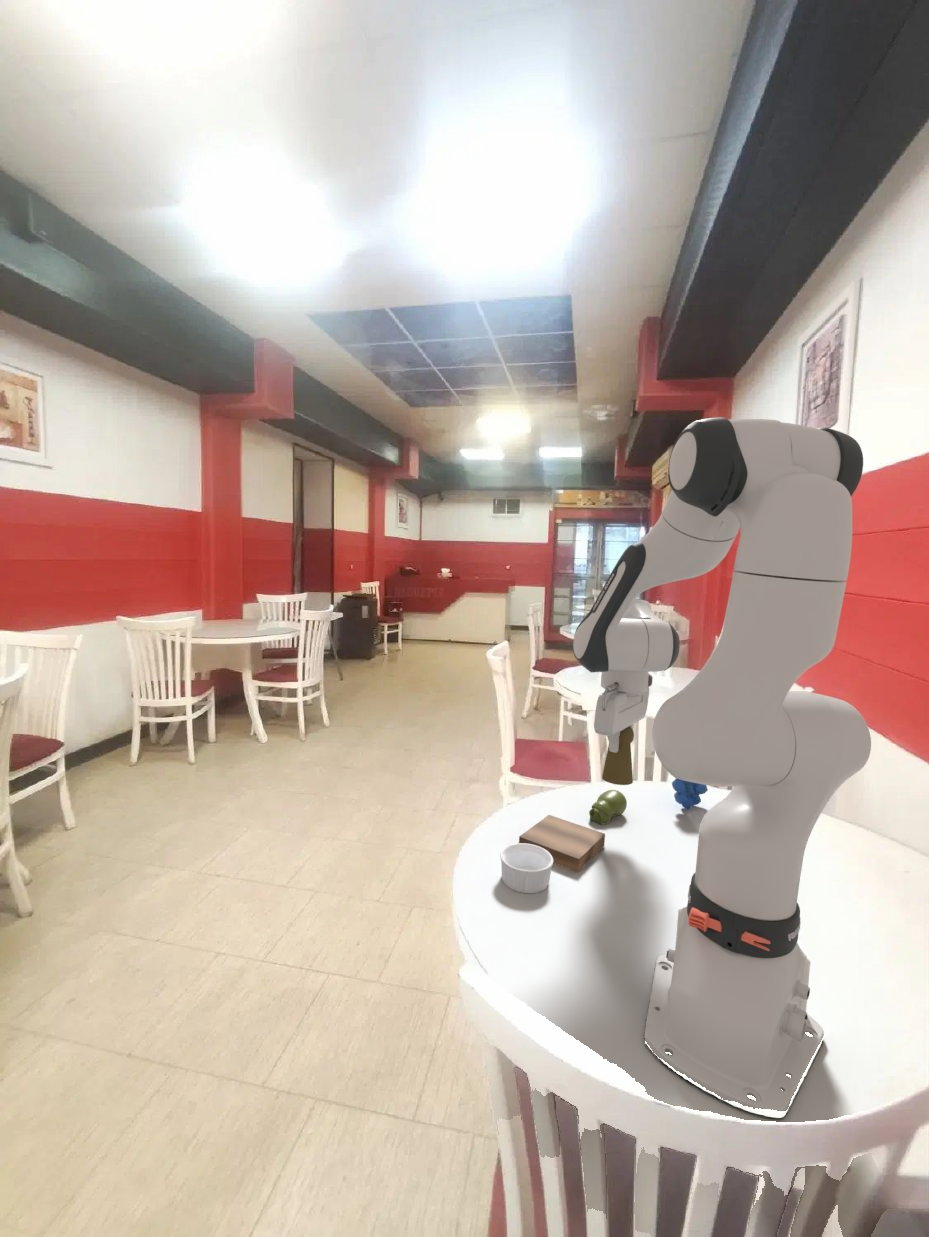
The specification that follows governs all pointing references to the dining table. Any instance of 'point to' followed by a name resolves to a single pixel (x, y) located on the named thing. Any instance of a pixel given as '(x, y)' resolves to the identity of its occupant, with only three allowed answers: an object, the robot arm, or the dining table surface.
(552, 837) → the walnut block
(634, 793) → the dining table surface
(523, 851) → the ramekin
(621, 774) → the pepper mill
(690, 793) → the grapes
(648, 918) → the dining table surface
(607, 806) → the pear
